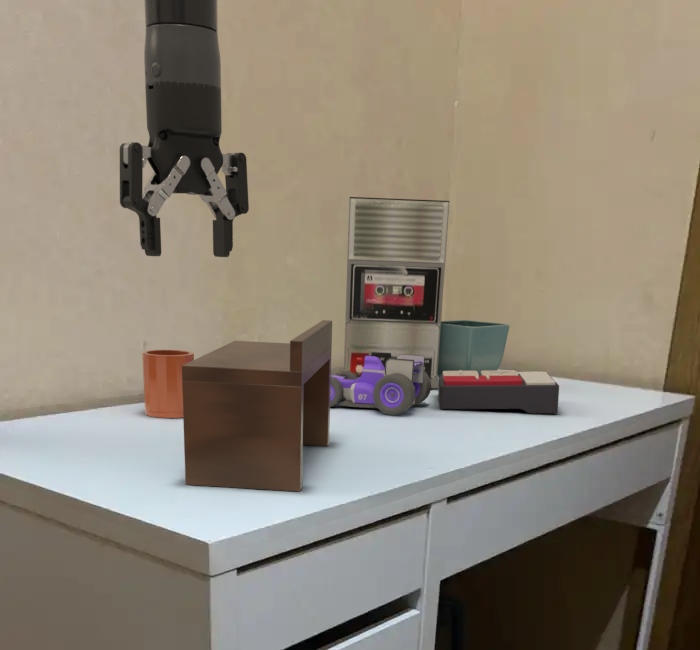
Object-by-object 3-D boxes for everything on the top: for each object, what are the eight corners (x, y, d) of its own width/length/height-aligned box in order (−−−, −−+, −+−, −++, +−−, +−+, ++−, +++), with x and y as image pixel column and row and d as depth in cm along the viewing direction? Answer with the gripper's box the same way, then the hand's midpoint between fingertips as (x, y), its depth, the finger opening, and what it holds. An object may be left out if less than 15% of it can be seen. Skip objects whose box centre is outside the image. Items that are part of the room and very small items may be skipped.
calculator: (438, 368, 129) (549, 367, 128) (438, 400, 130) (547, 399, 129) (440, 380, 119) (560, 379, 118) (439, 414, 120) (558, 413, 119)
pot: (138, 416, 108) (135, 354, 106) (153, 408, 114) (151, 348, 111) (187, 419, 108) (185, 356, 105) (200, 410, 113) (198, 351, 111)
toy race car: (323, 395, 127) (325, 345, 124) (430, 405, 122) (433, 354, 120) (296, 405, 119) (296, 352, 116) (408, 417, 114) (412, 362, 112)
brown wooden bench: (185, 484, 81) (180, 335, 76) (235, 438, 99) (234, 315, 94) (300, 491, 80) (302, 341, 75) (329, 443, 98) (332, 320, 93)
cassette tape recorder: (342, 386, 135) (348, 196, 125) (342, 380, 141) (348, 198, 131) (437, 390, 135) (451, 200, 126) (434, 383, 141) (446, 202, 131)
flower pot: (422, 383, 141) (426, 320, 137) (461, 379, 146) (466, 319, 143) (466, 391, 135) (471, 326, 131) (505, 386, 140) (511, 324, 137)
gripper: (221, 94, 101) (223, 256, 107) (100, 77, 92) (110, 254, 98) (262, 89, 96) (262, 259, 102) (139, 70, 87) (147, 257, 93)
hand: (188, 256), depth 100 cm, fingers open, 8 cm apart
